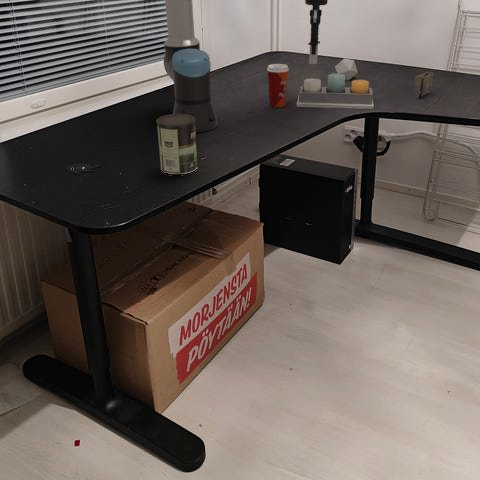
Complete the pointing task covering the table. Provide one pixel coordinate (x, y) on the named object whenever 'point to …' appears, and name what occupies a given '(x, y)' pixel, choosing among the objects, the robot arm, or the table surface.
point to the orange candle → (360, 86)
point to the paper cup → (277, 84)
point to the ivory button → (312, 85)
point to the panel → (335, 99)
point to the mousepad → (81, 168)
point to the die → (346, 68)
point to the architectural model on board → (422, 83)
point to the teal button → (336, 83)
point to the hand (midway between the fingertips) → (313, 63)
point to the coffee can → (177, 143)
